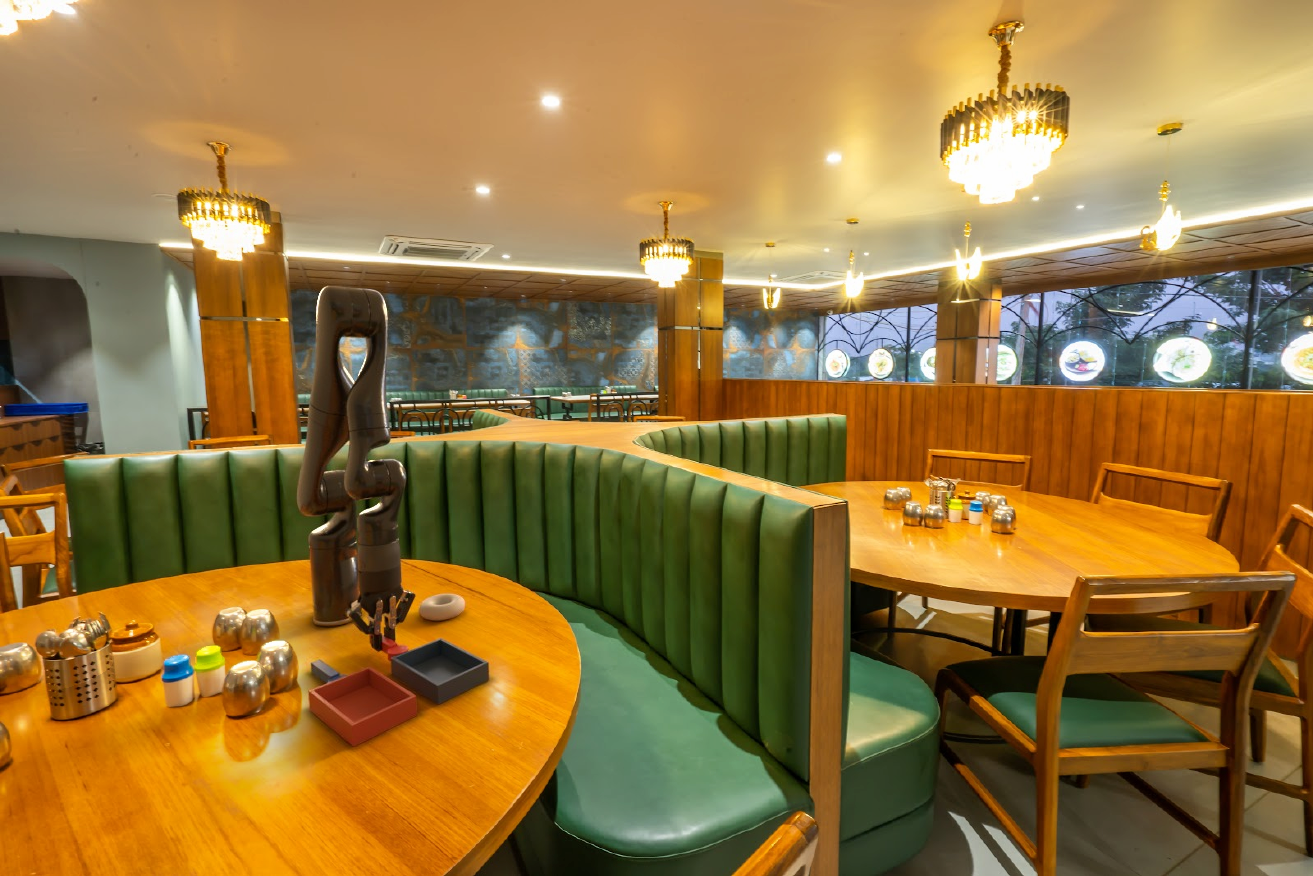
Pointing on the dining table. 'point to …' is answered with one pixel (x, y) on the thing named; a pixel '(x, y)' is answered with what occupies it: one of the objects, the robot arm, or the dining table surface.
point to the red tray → (362, 705)
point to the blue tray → (440, 670)
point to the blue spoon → (324, 671)
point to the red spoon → (391, 647)
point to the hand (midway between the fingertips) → (383, 647)
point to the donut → (442, 607)
